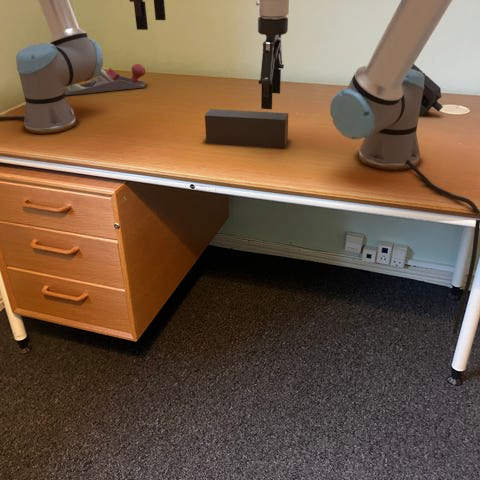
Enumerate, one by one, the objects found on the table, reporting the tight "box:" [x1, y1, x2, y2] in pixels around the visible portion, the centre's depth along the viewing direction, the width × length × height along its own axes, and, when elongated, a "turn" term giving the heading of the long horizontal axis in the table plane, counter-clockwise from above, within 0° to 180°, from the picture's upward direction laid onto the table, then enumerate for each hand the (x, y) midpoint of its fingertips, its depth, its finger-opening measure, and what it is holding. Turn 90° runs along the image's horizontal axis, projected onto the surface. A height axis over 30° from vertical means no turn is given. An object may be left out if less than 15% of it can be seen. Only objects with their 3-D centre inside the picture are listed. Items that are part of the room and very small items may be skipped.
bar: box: [204, 108, 289, 149], centre depth 149 cm, size 22×6×8 cm, turn 77°
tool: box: [411, 63, 444, 116], centre depth 168 cm, size 6×19×15 cm, turn 51°
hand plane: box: [64, 63, 146, 96], centre depth 194 cm, size 7×31×15 cm, turn 107°
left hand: (151, 24), depth 140 cm, fingers open, 13 cm apart
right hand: (271, 100), depth 143 cm, fingers open, 13 cm apart
